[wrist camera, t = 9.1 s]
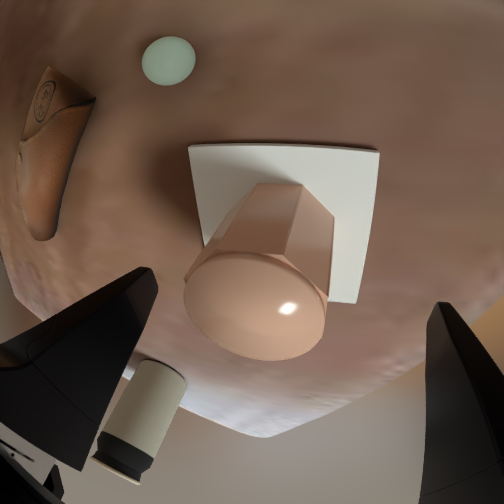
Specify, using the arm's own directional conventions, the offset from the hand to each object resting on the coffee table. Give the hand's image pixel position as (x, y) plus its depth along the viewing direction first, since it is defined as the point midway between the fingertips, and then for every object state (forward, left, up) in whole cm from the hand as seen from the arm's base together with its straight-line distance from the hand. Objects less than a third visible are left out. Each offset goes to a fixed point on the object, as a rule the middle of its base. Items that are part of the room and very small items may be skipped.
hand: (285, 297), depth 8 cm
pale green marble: (+8, -7, -12) cm, 16 cm away
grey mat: (+2, +5, -12) cm, 13 cm away
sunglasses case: (+25, -2, -12) cm, 28 cm away
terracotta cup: (+2, +5, -11) cm, 12 cm away
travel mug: (+20, +32, -12) cm, 39 cm away
